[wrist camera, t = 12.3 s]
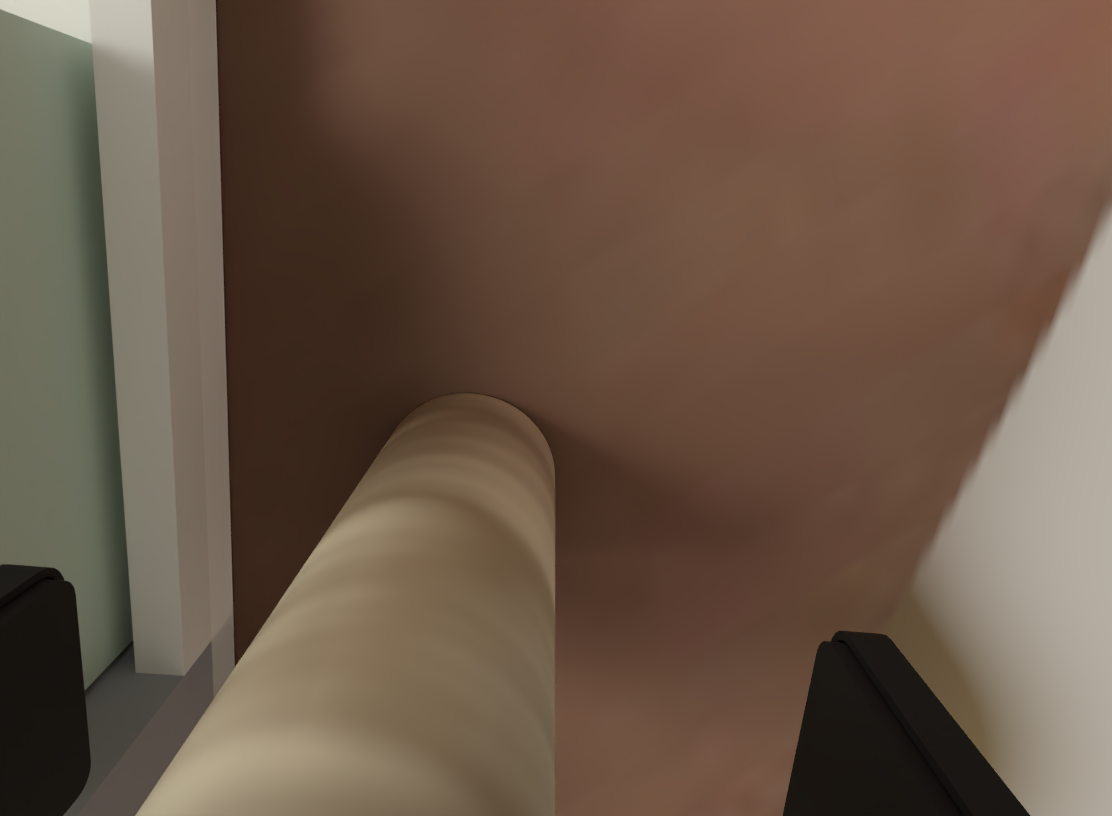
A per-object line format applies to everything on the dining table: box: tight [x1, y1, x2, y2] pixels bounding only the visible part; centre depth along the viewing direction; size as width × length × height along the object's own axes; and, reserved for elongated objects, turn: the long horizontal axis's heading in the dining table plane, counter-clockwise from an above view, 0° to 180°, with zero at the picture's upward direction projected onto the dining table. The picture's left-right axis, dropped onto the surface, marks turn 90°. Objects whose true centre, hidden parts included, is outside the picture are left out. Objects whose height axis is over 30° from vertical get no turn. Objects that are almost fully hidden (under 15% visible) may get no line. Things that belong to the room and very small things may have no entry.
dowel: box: [135, 393, 555, 816], centre depth 11 cm, size 4×4×12 cm
